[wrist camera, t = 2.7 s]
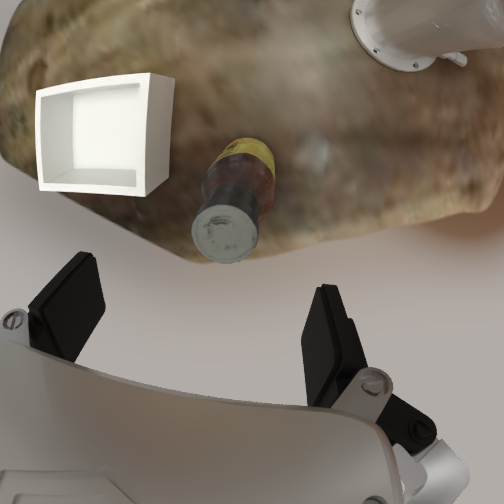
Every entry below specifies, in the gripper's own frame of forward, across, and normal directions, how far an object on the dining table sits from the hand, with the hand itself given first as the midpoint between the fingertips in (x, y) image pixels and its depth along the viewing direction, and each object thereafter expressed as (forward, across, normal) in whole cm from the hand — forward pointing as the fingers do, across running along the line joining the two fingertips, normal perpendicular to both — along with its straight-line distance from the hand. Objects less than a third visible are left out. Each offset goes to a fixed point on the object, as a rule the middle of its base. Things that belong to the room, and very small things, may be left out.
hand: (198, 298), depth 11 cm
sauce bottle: (+26, 0, -1) cm, 26 cm away
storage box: (+26, +18, -4) cm, 32 cm away
